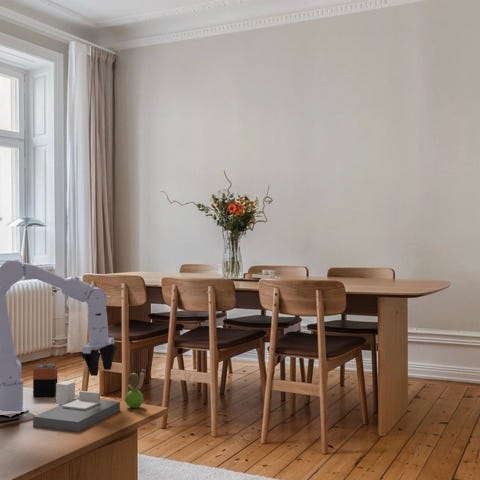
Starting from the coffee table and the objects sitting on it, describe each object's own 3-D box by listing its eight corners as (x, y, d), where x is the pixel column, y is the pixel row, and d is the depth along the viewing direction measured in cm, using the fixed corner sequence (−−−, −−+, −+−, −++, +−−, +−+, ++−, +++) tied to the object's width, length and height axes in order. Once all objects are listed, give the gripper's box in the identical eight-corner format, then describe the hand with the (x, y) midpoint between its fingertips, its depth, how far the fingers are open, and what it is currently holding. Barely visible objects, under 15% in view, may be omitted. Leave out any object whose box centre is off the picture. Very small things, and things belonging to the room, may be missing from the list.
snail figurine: (137, 411, 186) (138, 370, 186) (121, 408, 189) (121, 368, 189) (149, 407, 190) (150, 367, 190) (133, 404, 194) (133, 365, 194)
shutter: (62, 407, 180) (62, 397, 180) (79, 400, 188) (79, 390, 188) (85, 410, 177) (85, 399, 177) (101, 402, 185) (101, 392, 185)
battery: (54, 397, 202) (54, 365, 202) (32, 397, 201) (32, 365, 201) (57, 393, 206) (57, 363, 206) (36, 393, 206) (36, 363, 206)
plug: (55, 406, 191) (56, 383, 191) (63, 403, 194) (63, 381, 194) (67, 407, 189) (67, 384, 189) (75, 404, 193) (75, 382, 193)
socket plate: (33, 425, 171) (33, 416, 171) (78, 405, 191) (78, 397, 191) (77, 431, 166) (78, 421, 166) (119, 410, 187) (120, 401, 187)
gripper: (96, 331, 183) (99, 378, 183) (121, 323, 196) (124, 367, 197) (75, 331, 185) (78, 378, 185) (102, 323, 199) (104, 366, 199)
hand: (100, 372), depth 191 cm, fingers open, 7 cm apart
